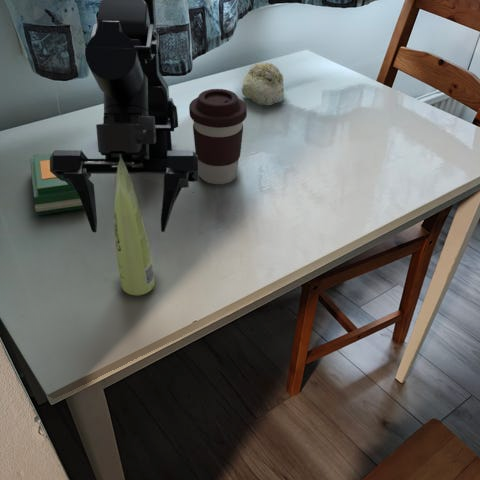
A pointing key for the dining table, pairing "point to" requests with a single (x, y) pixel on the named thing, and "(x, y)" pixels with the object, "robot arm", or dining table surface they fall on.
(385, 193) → the dining table surface
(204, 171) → the coffee cup
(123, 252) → the tube
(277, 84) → the decorative item
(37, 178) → the stack of green books
